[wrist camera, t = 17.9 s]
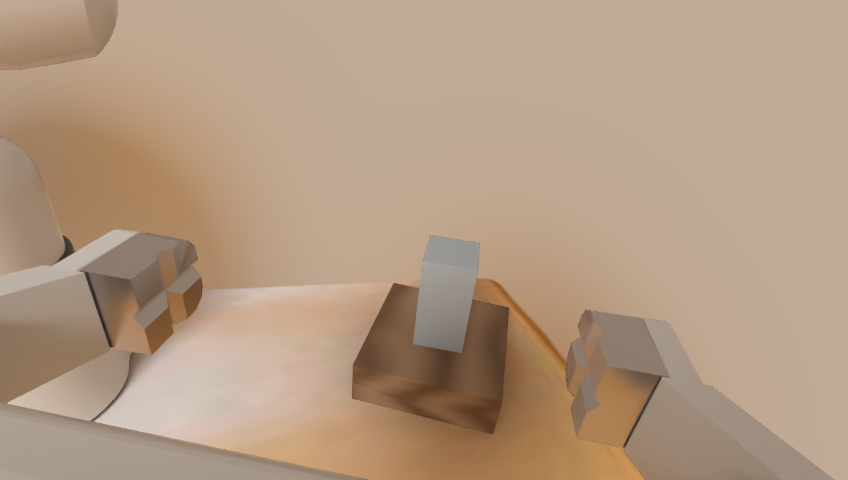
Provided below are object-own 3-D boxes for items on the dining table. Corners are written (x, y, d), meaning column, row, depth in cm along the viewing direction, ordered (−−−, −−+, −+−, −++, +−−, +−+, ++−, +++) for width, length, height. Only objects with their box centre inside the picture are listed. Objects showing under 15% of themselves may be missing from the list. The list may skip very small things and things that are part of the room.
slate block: (461, 353, 44) (478, 270, 39) (412, 344, 44) (422, 261, 39) (464, 321, 48) (479, 243, 43) (420, 313, 48) (430, 234, 43)
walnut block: (351, 401, 43) (353, 364, 41) (391, 315, 55) (393, 283, 53) (492, 437, 41) (501, 400, 39) (500, 339, 53) (509, 307, 51)
